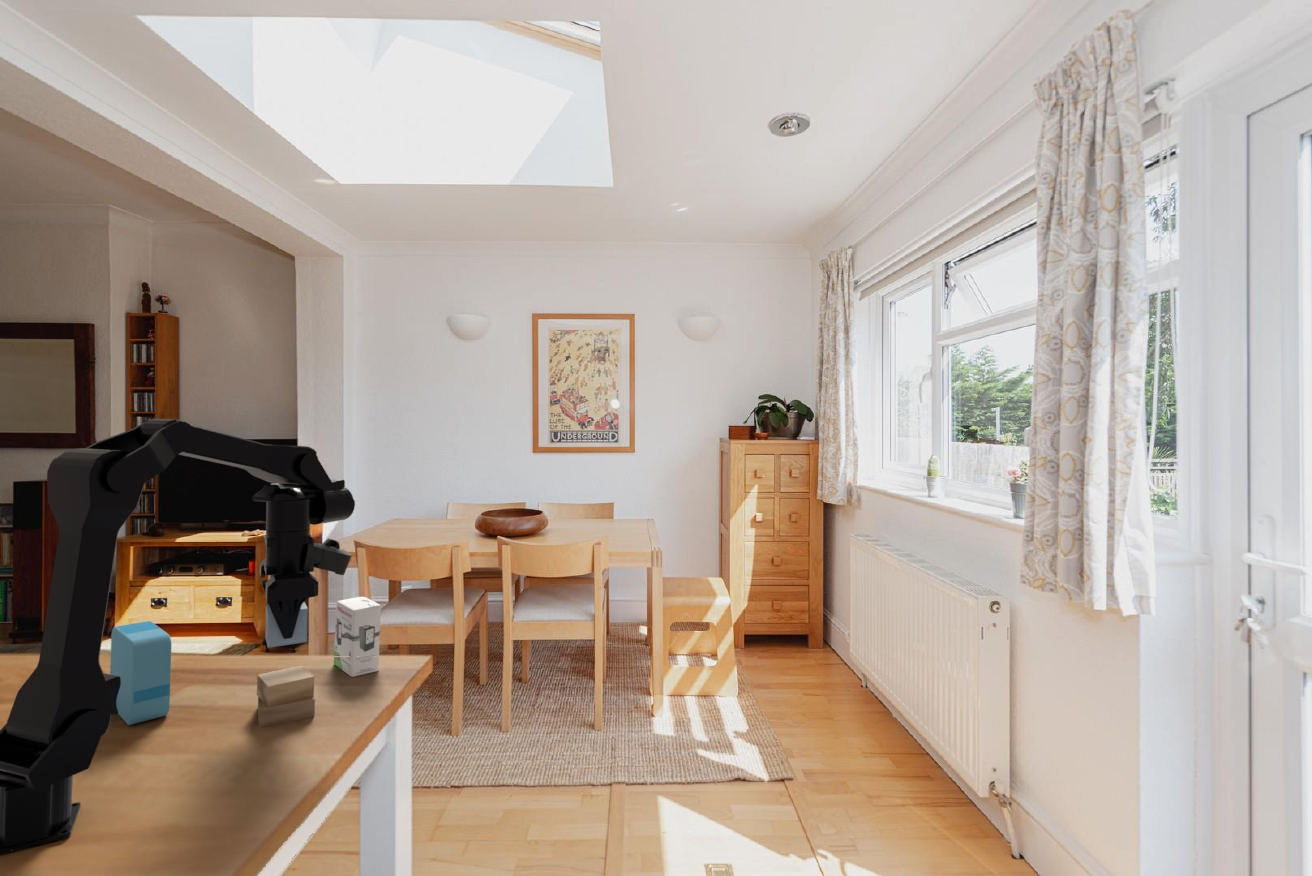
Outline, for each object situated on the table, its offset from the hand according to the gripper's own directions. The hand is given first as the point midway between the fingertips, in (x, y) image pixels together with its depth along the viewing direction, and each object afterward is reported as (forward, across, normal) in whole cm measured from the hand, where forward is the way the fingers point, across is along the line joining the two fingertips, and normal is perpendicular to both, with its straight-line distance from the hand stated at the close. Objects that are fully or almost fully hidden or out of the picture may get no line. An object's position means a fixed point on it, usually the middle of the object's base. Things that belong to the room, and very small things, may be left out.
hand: (286, 633), depth 94 cm
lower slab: (+12, 0, 0) cm, 12 cm away
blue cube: (+1, 0, 0) cm, 1 cm away
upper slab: (+9, 0, 0) cm, 9 cm away
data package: (+12, +11, +18) cm, 24 cm away
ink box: (+12, +14, -12) cm, 22 cm away
